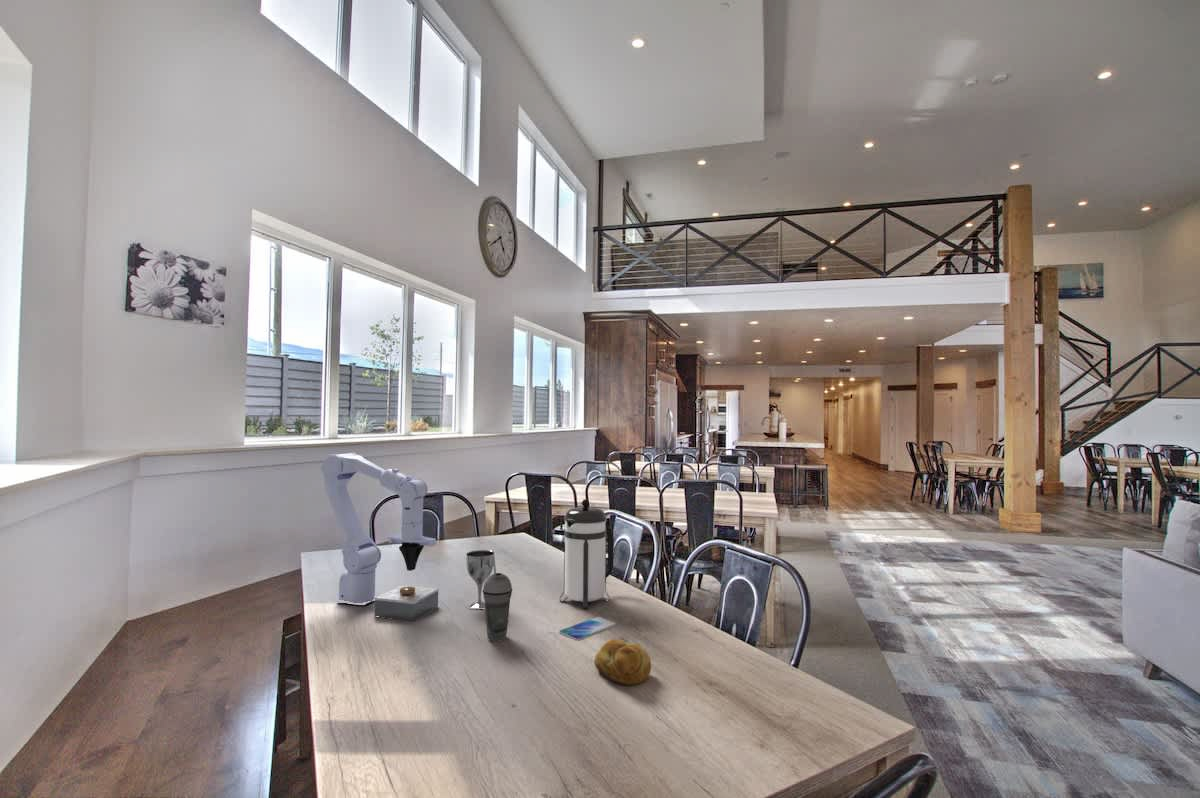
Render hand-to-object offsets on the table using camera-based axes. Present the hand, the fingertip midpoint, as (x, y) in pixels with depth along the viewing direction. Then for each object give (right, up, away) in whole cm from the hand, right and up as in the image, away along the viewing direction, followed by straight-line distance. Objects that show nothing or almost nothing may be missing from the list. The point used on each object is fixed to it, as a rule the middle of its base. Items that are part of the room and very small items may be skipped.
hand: (411, 569), depth 159 cm
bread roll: (+59, -9, -42) cm, 73 cm away
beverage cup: (+29, -10, -23) cm, 38 cm away
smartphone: (+51, -11, -17) cm, 55 cm away
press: (+1, -10, -4) cm, 11 cm away
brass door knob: (+1, -10, -5) cm, 11 cm away
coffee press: (+50, -11, +7) cm, 52 cm away
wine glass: (+20, -11, 0) cm, 22 cm away
